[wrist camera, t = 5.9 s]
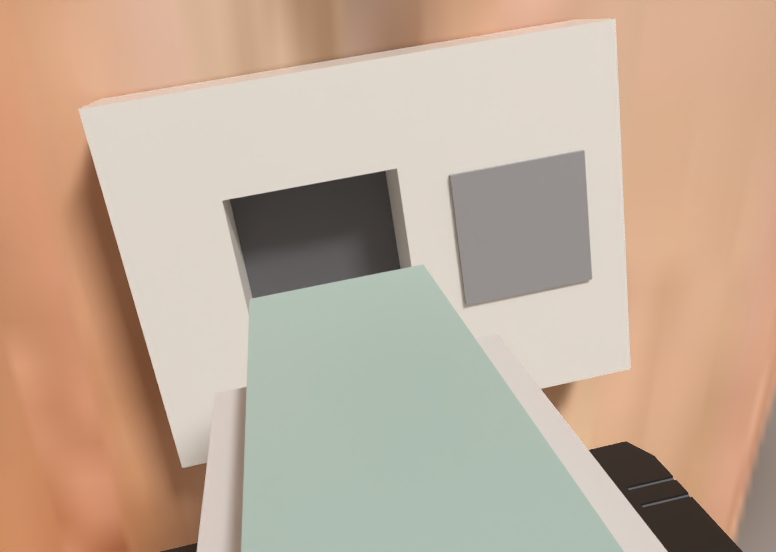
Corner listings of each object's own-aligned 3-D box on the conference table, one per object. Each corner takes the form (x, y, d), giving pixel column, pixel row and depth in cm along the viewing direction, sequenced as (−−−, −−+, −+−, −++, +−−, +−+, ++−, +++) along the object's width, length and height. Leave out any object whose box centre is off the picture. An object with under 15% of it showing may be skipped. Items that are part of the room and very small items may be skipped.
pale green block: (249, 298, 17) (229, 910, 5) (423, 264, 17) (767, 756, 6) (284, 451, 18) (331, 1208, 6) (445, 415, 18) (757, 1066, 7)
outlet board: (99, 99, 24) (77, 109, 21) (576, 19, 25) (617, 18, 22) (189, 423, 28) (181, 470, 25) (595, 336, 29) (632, 371, 27)
